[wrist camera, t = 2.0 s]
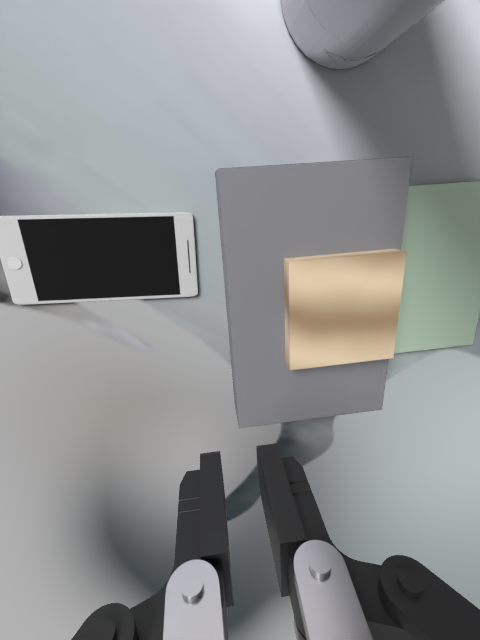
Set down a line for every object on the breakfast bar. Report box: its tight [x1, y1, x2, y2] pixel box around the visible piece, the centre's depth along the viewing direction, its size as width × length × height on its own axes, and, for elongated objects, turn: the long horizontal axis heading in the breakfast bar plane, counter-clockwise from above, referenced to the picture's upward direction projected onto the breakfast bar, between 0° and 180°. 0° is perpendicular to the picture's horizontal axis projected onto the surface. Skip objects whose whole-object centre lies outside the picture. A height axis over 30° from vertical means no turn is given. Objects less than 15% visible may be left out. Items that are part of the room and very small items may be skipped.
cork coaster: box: [284, 249, 407, 370], centre depth 26 cm, size 9×9×2 cm
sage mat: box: [394, 181, 480, 354], centre depth 30 cm, size 16×11×1 cm
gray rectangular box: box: [215, 156, 413, 428], centre depth 28 cm, size 22×14×4 cm, turn 4°
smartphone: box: [0, 212, 198, 305], centre depth 27 cm, size 7×15×1 cm, turn 91°
